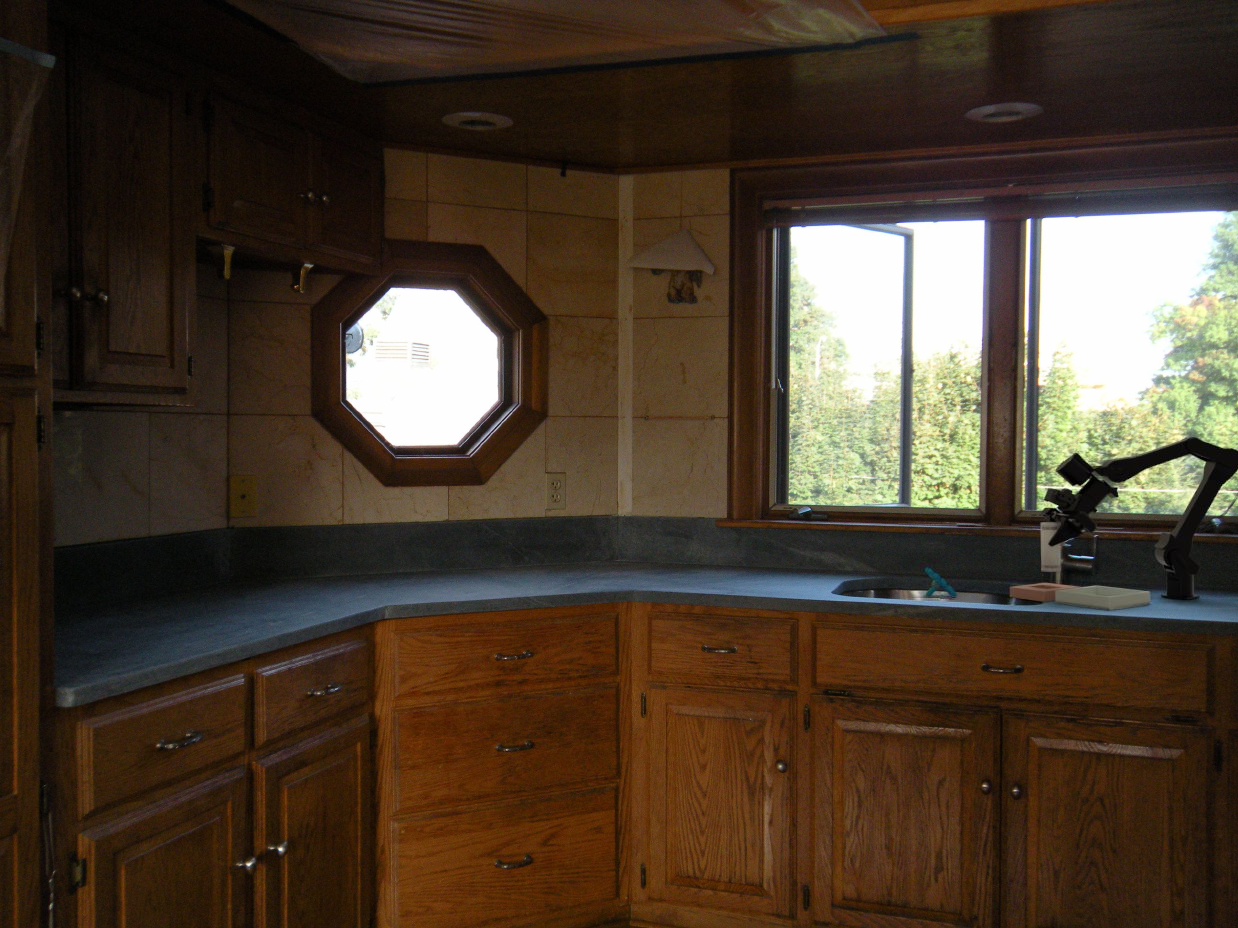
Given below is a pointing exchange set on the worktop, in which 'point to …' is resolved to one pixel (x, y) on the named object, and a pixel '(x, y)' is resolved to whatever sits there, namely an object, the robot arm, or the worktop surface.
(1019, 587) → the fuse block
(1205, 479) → the robot arm
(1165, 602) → the worktop surface
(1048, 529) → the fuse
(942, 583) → the teal branched piece
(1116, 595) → the tray
